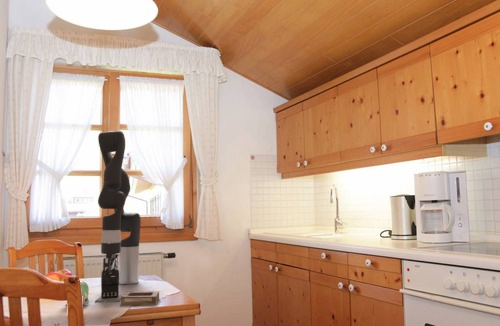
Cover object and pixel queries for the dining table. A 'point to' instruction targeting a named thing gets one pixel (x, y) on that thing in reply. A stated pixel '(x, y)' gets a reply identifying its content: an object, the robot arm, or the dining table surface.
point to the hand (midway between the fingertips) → (110, 282)
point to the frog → (84, 292)
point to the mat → (109, 299)
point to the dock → (140, 298)
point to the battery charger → (110, 285)
